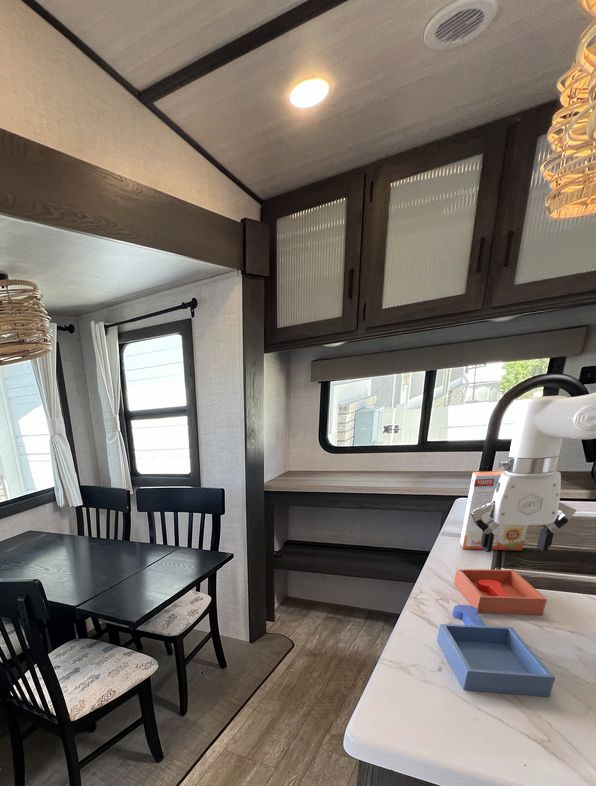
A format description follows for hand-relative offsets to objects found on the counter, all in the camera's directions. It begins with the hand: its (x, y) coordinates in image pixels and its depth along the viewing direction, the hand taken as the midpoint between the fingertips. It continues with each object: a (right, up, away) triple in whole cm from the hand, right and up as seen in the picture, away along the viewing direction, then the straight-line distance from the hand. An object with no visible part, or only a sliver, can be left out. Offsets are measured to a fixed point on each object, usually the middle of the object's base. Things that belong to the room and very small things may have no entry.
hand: (513, 550), depth 97 cm
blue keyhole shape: (-10, -15, -1) cm, 18 cm away
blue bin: (-17, -22, -16) cm, 32 cm away
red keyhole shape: (+1, -9, +8) cm, 12 cm away
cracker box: (+21, +4, +36) cm, 42 cm away
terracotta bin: (+2, -10, +7) cm, 12 cm away
